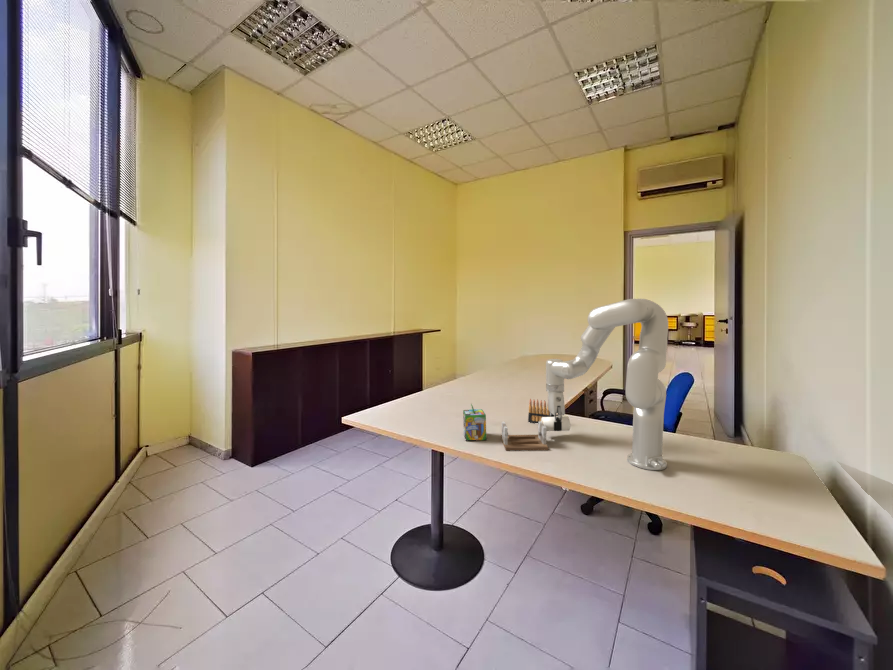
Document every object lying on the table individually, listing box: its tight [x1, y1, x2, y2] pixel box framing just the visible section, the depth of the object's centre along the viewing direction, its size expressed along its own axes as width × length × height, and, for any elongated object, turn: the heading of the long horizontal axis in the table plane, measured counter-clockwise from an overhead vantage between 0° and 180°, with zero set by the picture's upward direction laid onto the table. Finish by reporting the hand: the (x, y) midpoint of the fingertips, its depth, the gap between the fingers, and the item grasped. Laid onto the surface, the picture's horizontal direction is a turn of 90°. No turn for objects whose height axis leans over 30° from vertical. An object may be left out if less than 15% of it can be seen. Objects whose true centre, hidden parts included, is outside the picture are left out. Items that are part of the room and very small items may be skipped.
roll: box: [541, 415, 571, 432], centre depth 153 cm, size 6×11×6 cm, turn 89°
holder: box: [500, 421, 549, 452], centre depth 147 cm, size 14×17×8 cm
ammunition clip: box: [527, 398, 550, 424], centre depth 172 cm, size 11×2×12 cm, turn 62°
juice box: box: [462, 403, 487, 441], centre depth 155 cm, size 9×9×15 cm
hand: (555, 427), depth 153 cm, fingers closed on roll, 6 cm apart
